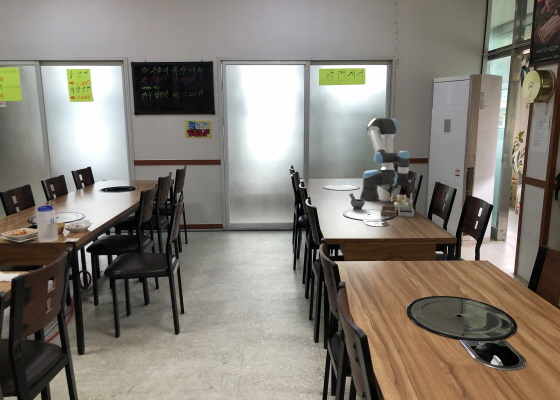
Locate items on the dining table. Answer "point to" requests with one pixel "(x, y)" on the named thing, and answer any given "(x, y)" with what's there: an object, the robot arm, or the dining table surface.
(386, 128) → the robot arm
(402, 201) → the letter cube
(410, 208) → the tray grey
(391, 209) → the tray walnut
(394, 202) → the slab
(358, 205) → the mortar and pestle
